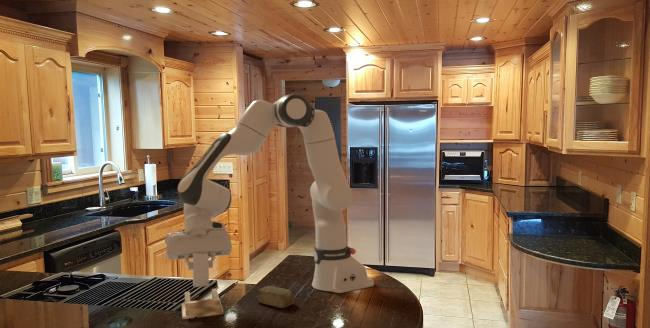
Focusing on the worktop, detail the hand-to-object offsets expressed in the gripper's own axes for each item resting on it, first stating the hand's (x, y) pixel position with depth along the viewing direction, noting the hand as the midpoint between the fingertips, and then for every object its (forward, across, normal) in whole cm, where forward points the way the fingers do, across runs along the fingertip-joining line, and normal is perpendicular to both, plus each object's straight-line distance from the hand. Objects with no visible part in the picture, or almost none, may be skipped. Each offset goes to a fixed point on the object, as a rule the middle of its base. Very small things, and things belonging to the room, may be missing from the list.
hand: (200, 267), depth 140 cm
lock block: (+3, 0, +4) cm, 5 cm away
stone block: (+11, +23, +8) cm, 27 cm away
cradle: (+9, 0, +10) cm, 14 cm away
